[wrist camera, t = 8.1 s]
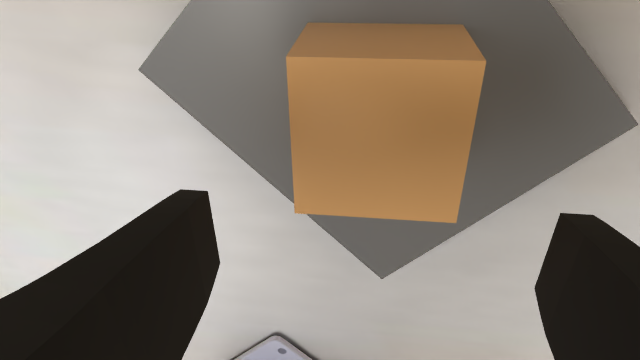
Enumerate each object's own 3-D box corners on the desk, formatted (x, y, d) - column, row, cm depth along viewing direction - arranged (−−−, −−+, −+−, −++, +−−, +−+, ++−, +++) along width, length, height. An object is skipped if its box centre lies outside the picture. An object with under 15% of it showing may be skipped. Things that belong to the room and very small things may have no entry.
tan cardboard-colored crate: (463, 24, 15) (486, 60, 11) (442, 161, 17) (456, 223, 14) (307, 22, 15) (285, 56, 12) (311, 154, 18) (294, 212, 15)
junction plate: (625, 113, 17) (677, 158, 14) (382, 264, 22) (381, 320, 19) (373, -231, 12) (369, -272, 9) (149, 61, 18) (103, 93, 15)
